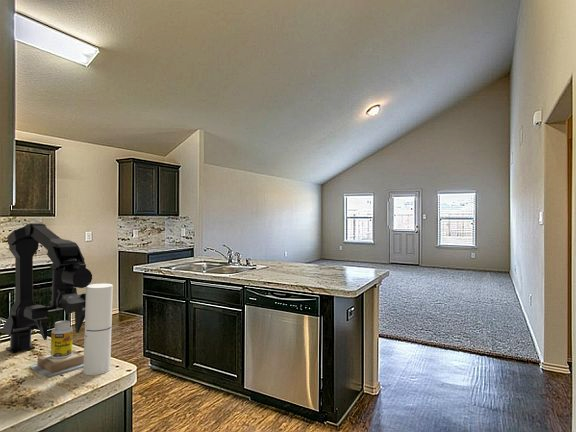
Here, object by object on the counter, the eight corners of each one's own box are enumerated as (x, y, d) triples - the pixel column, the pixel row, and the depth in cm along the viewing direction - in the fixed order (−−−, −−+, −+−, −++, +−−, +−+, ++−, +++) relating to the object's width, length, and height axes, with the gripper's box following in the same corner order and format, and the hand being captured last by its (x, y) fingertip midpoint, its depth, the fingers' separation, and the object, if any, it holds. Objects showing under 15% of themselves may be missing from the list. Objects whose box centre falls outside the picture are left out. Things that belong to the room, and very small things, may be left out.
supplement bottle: (51, 360, 111) (52, 325, 111) (50, 354, 115) (51, 321, 116) (72, 357, 114) (73, 323, 114) (71, 351, 119) (72, 318, 119)
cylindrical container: (97, 376, 108) (100, 288, 109) (77, 372, 110) (80, 286, 111) (115, 367, 115) (118, 284, 115) (96, 364, 117) (99, 282, 117)
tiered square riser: (29, 367, 113) (29, 357, 113) (70, 356, 123) (71, 346, 123) (48, 378, 106) (49, 366, 106) (91, 364, 116) (91, 354, 116)
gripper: (42, 292, 103) (40, 350, 103) (107, 283, 118) (106, 333, 118) (23, 287, 109) (22, 341, 109) (88, 279, 124) (87, 327, 124)
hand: (61, 335), depth 115 cm, fingers open, 9 cm apart
